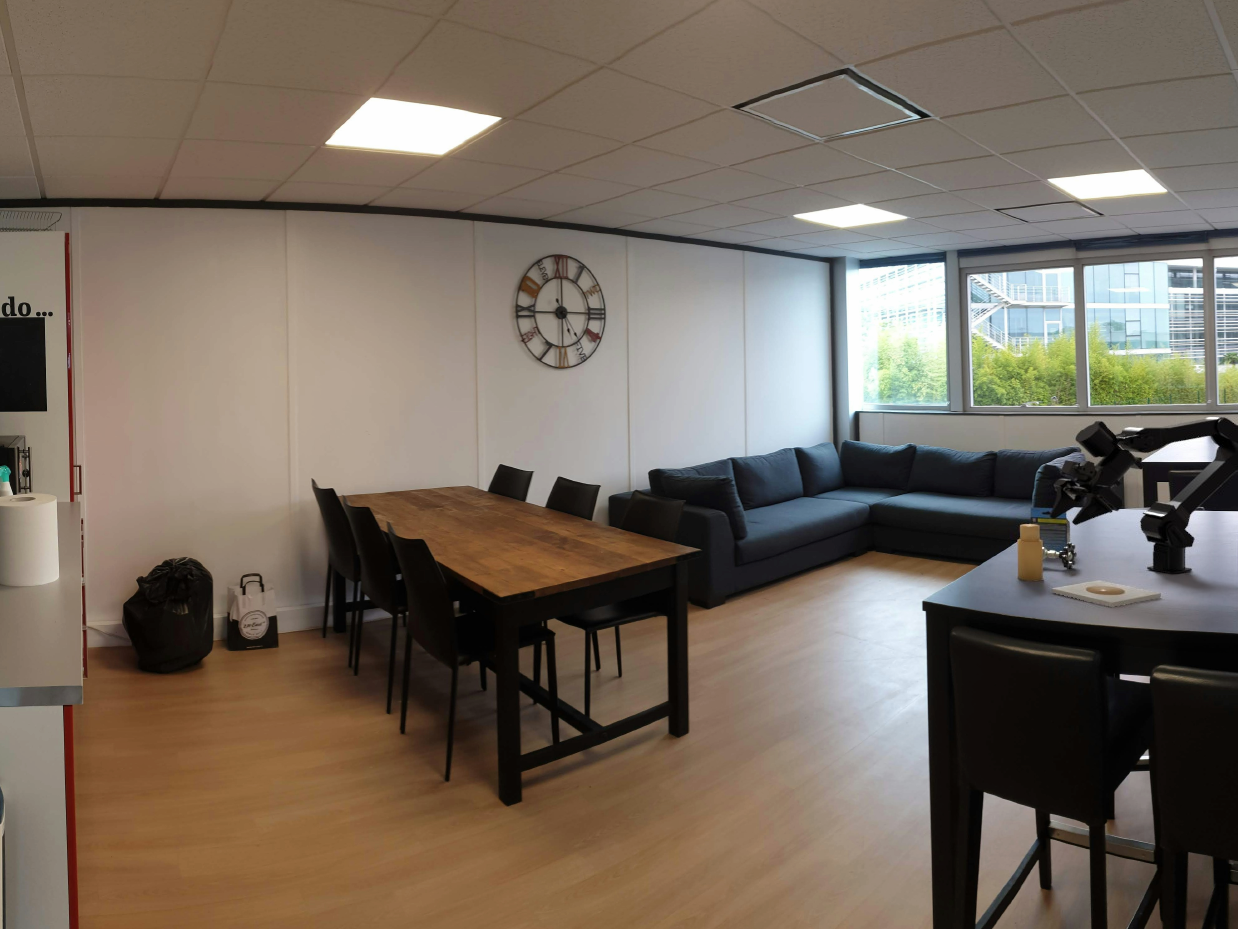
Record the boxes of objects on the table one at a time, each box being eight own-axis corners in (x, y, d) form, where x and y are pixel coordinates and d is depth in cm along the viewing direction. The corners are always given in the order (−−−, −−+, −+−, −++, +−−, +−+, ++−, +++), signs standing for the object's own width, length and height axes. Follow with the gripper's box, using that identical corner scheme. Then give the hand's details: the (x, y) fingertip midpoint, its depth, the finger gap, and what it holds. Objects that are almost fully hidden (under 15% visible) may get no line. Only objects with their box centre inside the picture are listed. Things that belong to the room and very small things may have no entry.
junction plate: (1098, 584, 178) (1098, 579, 178) (1160, 598, 165) (1160, 592, 165) (1052, 593, 173) (1051, 587, 173) (1111, 607, 160) (1111, 601, 160)
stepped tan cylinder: (1029, 575, 190) (1028, 523, 189) (1048, 579, 185) (1047, 525, 184) (1012, 577, 188) (1012, 525, 187) (1031, 582, 184) (1030, 528, 183)
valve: (1014, 566, 201) (1066, 572, 192) (1014, 540, 200) (1066, 545, 191) (1025, 561, 205) (1076, 567, 196) (1025, 536, 204) (1076, 540, 195)
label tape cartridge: (1071, 553, 212) (1070, 506, 211) (1067, 555, 209) (1067, 508, 208) (1034, 550, 218) (1033, 505, 217) (1030, 552, 215) (1029, 507, 214)
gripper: (1061, 445, 194) (1016, 493, 195) (1109, 450, 175) (1060, 502, 176) (1093, 476, 195) (1049, 523, 195) (1145, 483, 176) (1095, 536, 177)
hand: (1062, 520), depth 186 cm, fingers open, 9 cm apart
